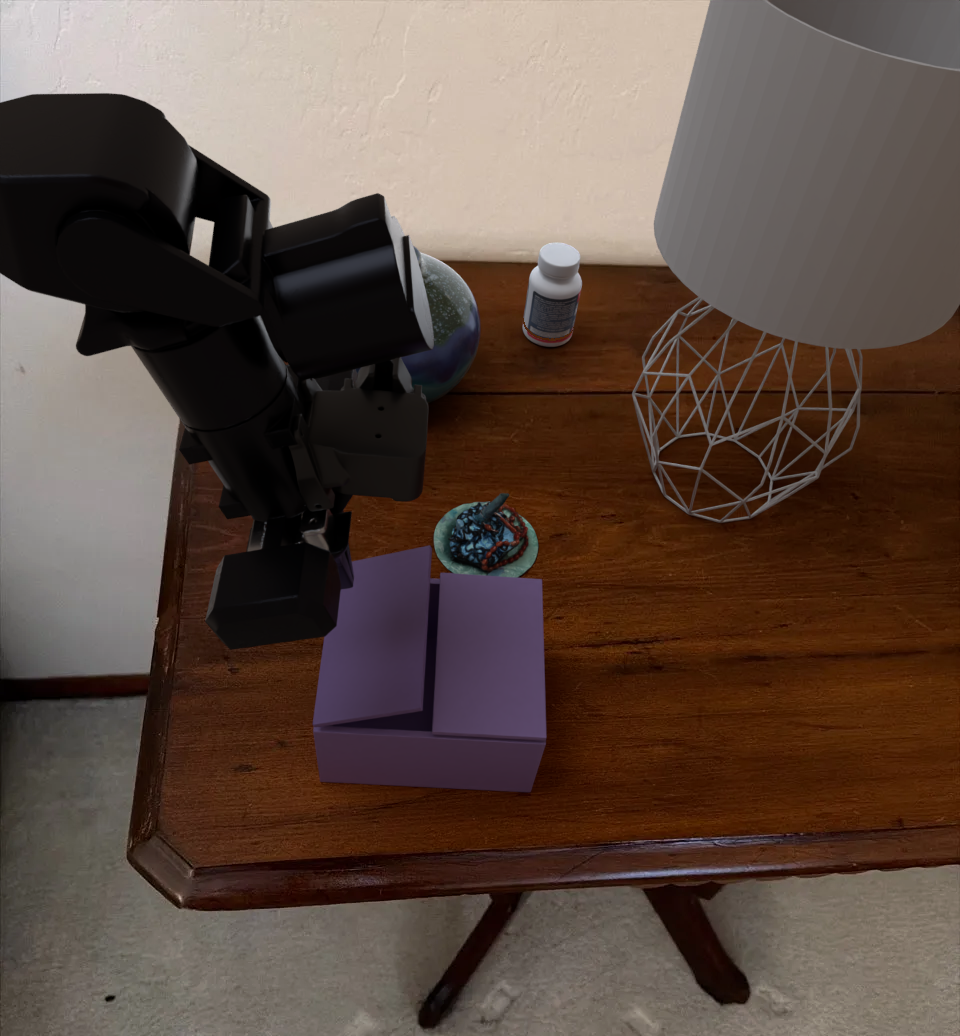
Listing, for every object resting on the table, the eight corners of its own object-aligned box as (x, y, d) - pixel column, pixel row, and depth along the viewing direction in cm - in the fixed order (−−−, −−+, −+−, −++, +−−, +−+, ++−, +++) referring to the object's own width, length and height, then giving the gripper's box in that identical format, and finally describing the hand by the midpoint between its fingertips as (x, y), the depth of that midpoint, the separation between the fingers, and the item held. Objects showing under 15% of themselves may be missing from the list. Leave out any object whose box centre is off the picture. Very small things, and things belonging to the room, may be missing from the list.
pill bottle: (579, 345, 94) (595, 267, 86) (532, 351, 93) (544, 274, 85) (561, 313, 96) (575, 235, 89) (515, 319, 95) (525, 241, 88)
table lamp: (562, 406, 88) (668, -100, 55) (770, 383, 93) (981, -97, 60) (641, 587, 77) (834, 82, 44) (873, 550, 81) (1207, 68, 48)
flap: (315, 727, 58) (312, 724, 57) (336, 568, 65) (333, 565, 65) (422, 711, 56) (420, 707, 55) (432, 548, 63) (430, 545, 63)
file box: (319, 781, 64) (312, 725, 57) (338, 630, 72) (334, 564, 65) (530, 792, 65) (547, 738, 58) (528, 642, 73) (543, 578, 66)
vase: (316, 434, 83) (305, 310, 72) (316, 326, 92) (307, 200, 81) (482, 434, 85) (497, 312, 74) (467, 328, 94) (479, 205, 83)
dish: (441, 478, 78) (504, 479, 73) (495, 510, 83) (557, 513, 78) (413, 566, 77) (474, 573, 72) (469, 593, 82) (530, 601, 77)
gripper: (377, 506, 37) (470, 698, 49) (401, 242, 48) (473, 455, 60) (131, 547, 39) (280, 721, 52) (207, 286, 50) (315, 483, 62)
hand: (346, 584), depth 56 cm, fingers closed
